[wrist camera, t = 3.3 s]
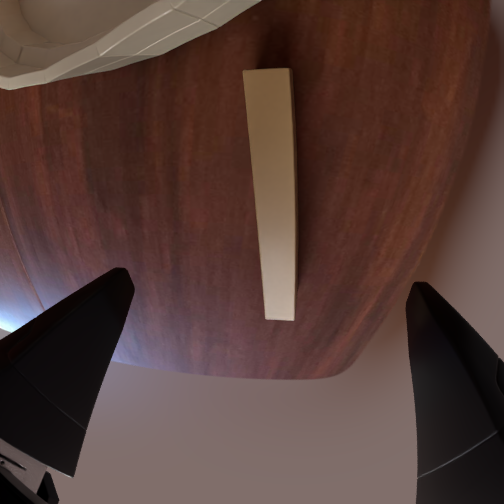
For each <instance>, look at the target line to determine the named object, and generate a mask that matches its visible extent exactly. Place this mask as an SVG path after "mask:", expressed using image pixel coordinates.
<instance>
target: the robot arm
mask: <svg viewBox="0 0 504 504" xmlns="http://www.w3.org/2000/svg"><path fill="white" fill-rule="evenodd" d="M134 292H135V288H134V284H133V282H132V280H131V277H130V275H129V273H128V271H127V269H125V268H118V267H116V268H113V269H112V270H110V271H108V272H107V273H105V274H103V275H102V276H100V277H98V278H97V279H95V280H93V281H92V282H90V283H89V284H87V285H85V286H84V287H82V288H80V289H79V290H77V291H76V292H74V293H72V294H71V295H69V296H68V297H66V298H65V299H63V300H61V301H60V302H58V303H57V304H55V305H54V306H52V307H51V308H49V309H48V310H46V311H44V312H43V313H41V314H40V315H38V316H37V317H36V318H34V319H32V320H31V321H29V322H28V323H26V324H25V325H23V326H22V327H20V328H19V329H17V330H16V331H14V332H12V333H11V334H9V335H8V336H6V337H4V338H3V339H1V340H0V504H58V502H59V498H58V495H57V493H56V489H55V487H54V483H53V480H52V477H51V474H50V473H49V472H47V471H46V469H47V467H50V468H52V469H54V470H56V471H58V472H60V473H62V474H65V475H67V476H69V477H71V478H73V477H74V474H75V471H76V467H77V462H78V459H79V455H80V451H81V448H82V444H83V441H84V437H85V434H86V430H87V427H88V423H89V421H90V417H91V414H92V411H93V408H94V405H95V402H96V399H97V396H98V393H99V391H100V388H101V385H102V382H103V379H104V376H105V374H106V371H107V368H108V365H109V363H110V361H111V358H112V355H113V353H114V350H115V348H116V345H117V343H118V340H119V338H120V335H121V333H122V330H123V327H124V324H125V321H126V317H127V314H128V311H129V308H130V305H131V302H132V299H133V296H134ZM406 318H407V332H408V347H409V359H410V366H411V373H412V382H413V390H414V400H415V412H416V427H417V456H418V472H417V477H418V479H417V495H416V504H504V362H503V361H502V360H501V359H500V358H498V355H497V354H496V353H495V352H494V350H493V349H492V348H491V347H490V346H489V345H488V344H487V343H486V341H485V340H484V339H483V338H482V337H481V336H480V335H479V334H478V333H477V332H476V331H475V329H474V328H473V327H471V325H470V324H469V323H468V322H467V321H466V320H465V319H464V318H463V317H462V316H461V315H460V314H459V313H458V312H457V311H456V310H455V309H454V308H453V307H452V306H451V305H450V304H449V303H448V302H447V301H446V300H445V299H444V298H443V297H442V296H441V295H440V294H439V293H438V292H437V291H436V290H435V289H434V288H433V287H432V286H431V285H429V284H428V283H427V282H414V283H413V285H412V288H411V291H410V293H409V296H408V299H407V302H406Z"/></svg>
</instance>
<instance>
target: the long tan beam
mask: <svg viewBox="0 0 504 504" xmlns="http://www.w3.org/2000/svg"><path fill="white" fill-rule="evenodd" d="M243 80H244V90H245V101H246V111H247V121H248V132H249V142H250V153H251V163H252V174H253V185H254V196H255V207H256V218H257V229H258V241H259V252H260V264H261V275H262V287H263V299H264V311H265V319H272V320H289V321H294V320H295V313H296V302H297V291H298V173H297V142H296V119H295V100H294V84H293V70H292V69H290V68H268V69H253V70H244V71H243Z"/></svg>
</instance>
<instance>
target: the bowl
mask: <svg viewBox="0 0 504 504" xmlns="http://www.w3.org/2000/svg"><path fill="white" fill-rule="evenodd" d="M260 1H262V0H0V88H4V89H7V90H13V89H17V88H22V87H28V86H33V85H39V84H45V83H49V82H53V81H57V80H62V79H66V78H71V77H76V76H80V75H86V74H92V73H98V72H104V71H110V70H114V69H117V68H120V67H123V66H126V65H129V64H132V63H135V62H138V61H142V60H145V59H148V58H152V57H156V56H159V55H162V54H164V53H166V52H168V51H170V50H172V49H174V48H176V47H178V46H180V45H182V44H184V43H186V42H188V41H190V40H192V39H194V38H196V37H199V36H201V35H203V34H205V33H208V32H210V31H212V30H215V29H217V28H219V27H220V26H222V25H223V24H225V23H226V22H228V21H229V20H231V19H232V18H234V17H235V16H237V15H239V14H240V13H242V12H243V11H245V10H246V9H248V8H250V7H251V6H253V5H255V4H256V3H258V2H260Z"/></svg>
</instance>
